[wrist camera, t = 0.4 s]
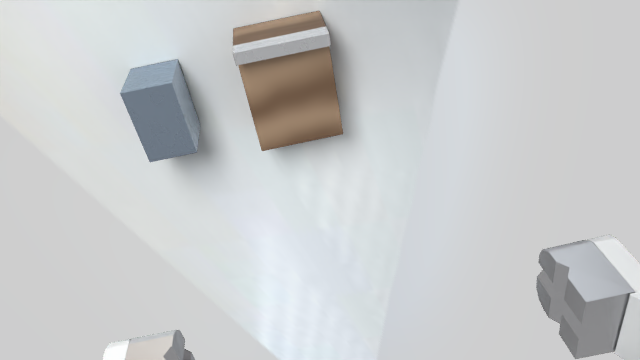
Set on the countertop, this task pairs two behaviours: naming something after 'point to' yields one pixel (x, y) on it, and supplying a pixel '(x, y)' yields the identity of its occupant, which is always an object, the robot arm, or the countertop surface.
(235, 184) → the countertop surface
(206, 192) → the countertop surface
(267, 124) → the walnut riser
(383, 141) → the countertop surface
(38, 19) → the countertop surface
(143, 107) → the block
